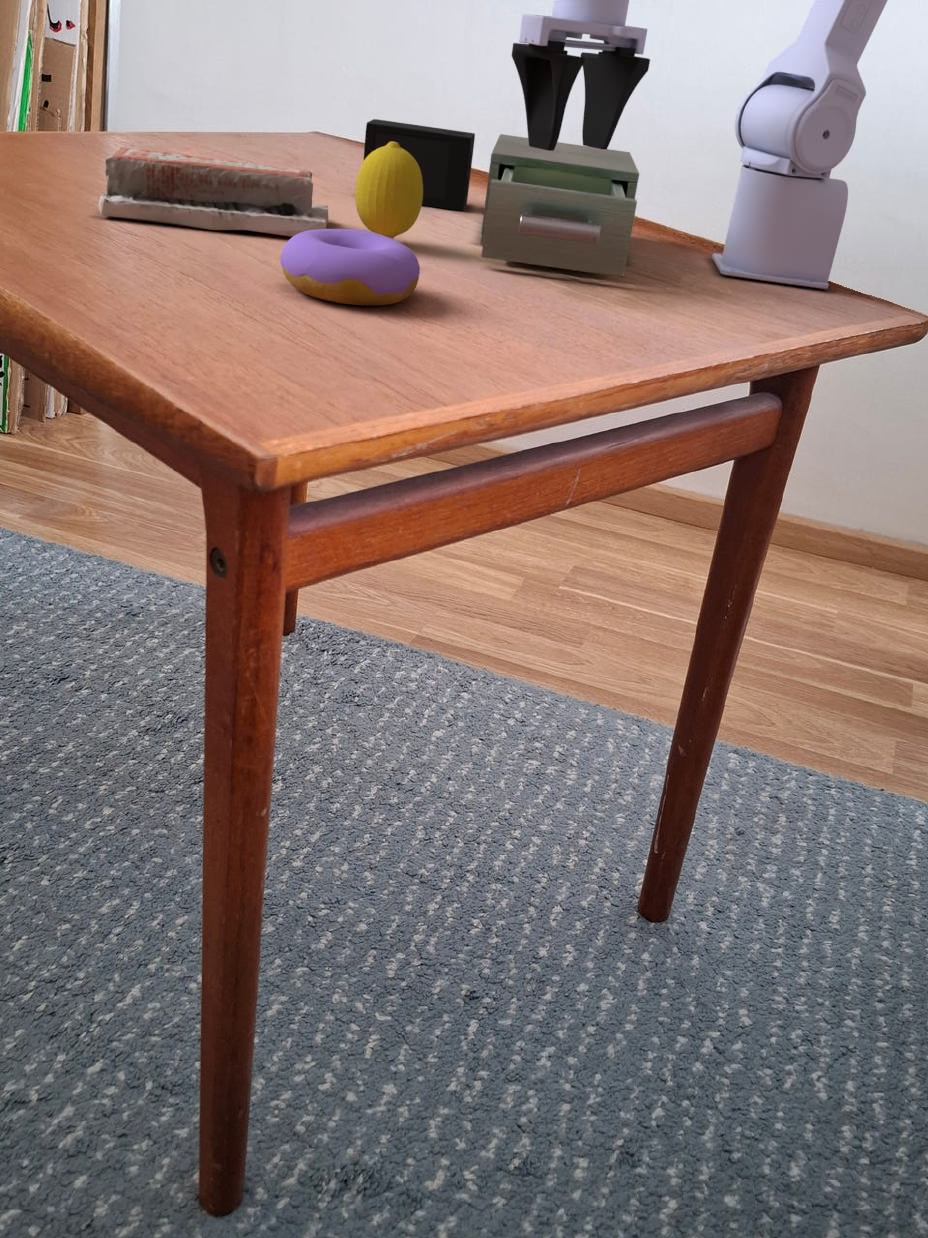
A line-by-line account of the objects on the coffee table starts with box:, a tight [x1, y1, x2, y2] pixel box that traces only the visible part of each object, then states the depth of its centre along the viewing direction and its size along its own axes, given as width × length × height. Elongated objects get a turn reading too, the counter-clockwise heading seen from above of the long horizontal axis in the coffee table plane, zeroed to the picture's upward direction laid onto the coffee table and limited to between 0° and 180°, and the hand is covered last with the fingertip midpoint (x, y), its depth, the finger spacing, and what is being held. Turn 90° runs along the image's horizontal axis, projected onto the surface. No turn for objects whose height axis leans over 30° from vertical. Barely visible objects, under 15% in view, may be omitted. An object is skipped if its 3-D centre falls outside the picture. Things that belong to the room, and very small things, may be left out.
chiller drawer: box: [480, 165, 638, 278], centre depth 98 cm, size 19×11×6 cm, turn 176°
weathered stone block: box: [97, 146, 329, 238], centre depth 99 cm, size 18×5×10 cm
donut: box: [280, 228, 421, 306], centre depth 82 cm, size 10×9×5 cm
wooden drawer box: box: [479, 133, 640, 246], centre depth 109 cm, size 16×13×8 cm
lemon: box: [354, 142, 423, 239], centre depth 98 cm, size 6×6×8 cm
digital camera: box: [363, 118, 476, 212], centre depth 119 cm, size 10×5×7 cm, turn 84°
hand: (568, 147), depth 97 cm, fingers open, 7 cm apart
